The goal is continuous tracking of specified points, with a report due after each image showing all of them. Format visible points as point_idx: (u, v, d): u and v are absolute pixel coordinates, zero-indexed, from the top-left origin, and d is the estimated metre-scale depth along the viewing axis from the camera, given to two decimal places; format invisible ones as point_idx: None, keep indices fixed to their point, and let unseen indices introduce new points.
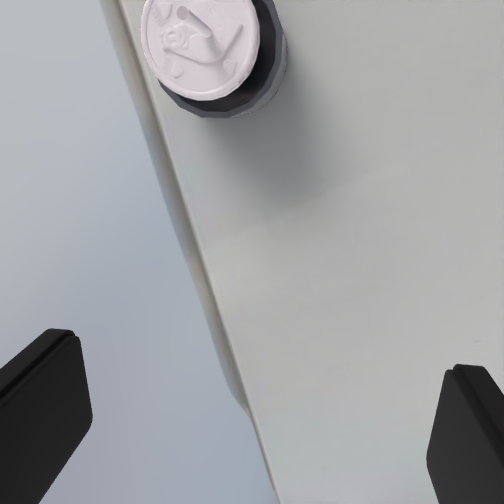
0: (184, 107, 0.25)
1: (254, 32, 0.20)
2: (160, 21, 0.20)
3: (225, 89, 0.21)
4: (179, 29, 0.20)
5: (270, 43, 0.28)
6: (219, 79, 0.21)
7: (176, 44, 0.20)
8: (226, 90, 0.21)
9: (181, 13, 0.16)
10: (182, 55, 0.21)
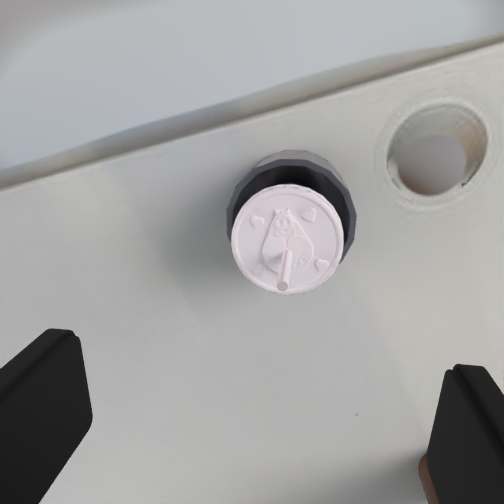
0: (235, 191, 0.25)
1: (286, 292, 0.23)
2: (299, 209, 0.21)
3: (239, 266, 0.22)
4: (290, 229, 0.21)
5: None
6: (248, 260, 0.22)
7: (278, 225, 0.21)
8: (239, 266, 0.22)
9: (282, 283, 0.18)
10: (269, 229, 0.21)
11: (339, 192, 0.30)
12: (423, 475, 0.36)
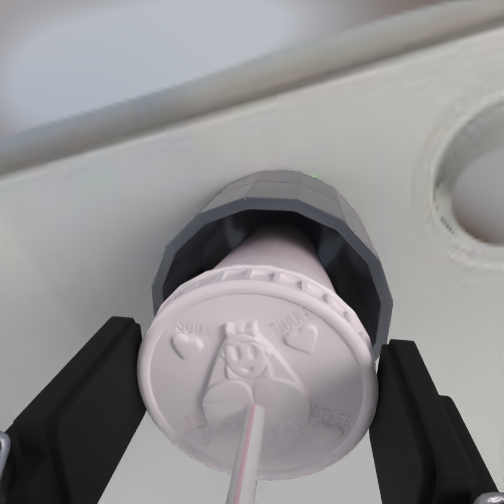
0: (165, 255, 0.13)
1: None
2: (279, 325, 0.09)
3: (158, 426, 0.11)
4: (260, 367, 0.09)
5: None
6: (175, 416, 0.11)
7: (232, 358, 0.09)
8: (157, 425, 0.11)
9: None
10: (214, 362, 0.10)
11: None
12: None
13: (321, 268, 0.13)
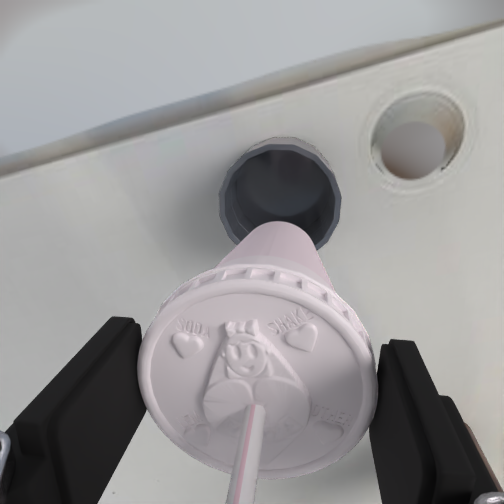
0: (227, 175, 0.26)
1: None
2: (279, 324, 0.09)
3: (158, 425, 0.11)
4: (260, 367, 0.09)
5: None
6: (176, 415, 0.11)
7: (232, 357, 0.09)
8: (158, 424, 0.11)
9: None
10: (214, 361, 0.10)
11: (326, 177, 0.31)
12: None
13: (321, 268, 0.13)
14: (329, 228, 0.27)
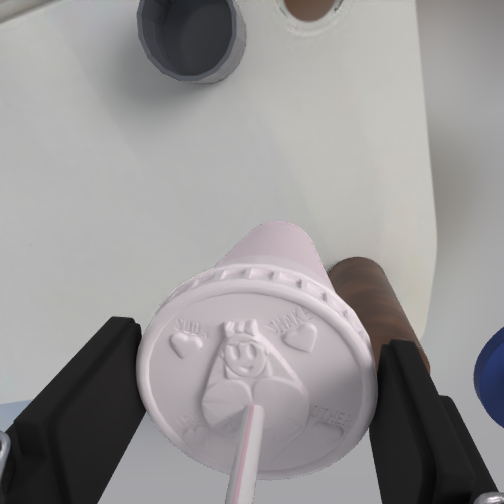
0: None
1: None
2: (279, 324, 0.09)
3: (157, 426, 0.11)
4: (259, 367, 0.09)
5: None
6: (174, 415, 0.11)
7: (231, 357, 0.09)
8: (156, 425, 0.11)
9: None
10: (213, 362, 0.10)
11: None
12: None
13: (321, 267, 0.13)
14: (229, 43, 0.32)
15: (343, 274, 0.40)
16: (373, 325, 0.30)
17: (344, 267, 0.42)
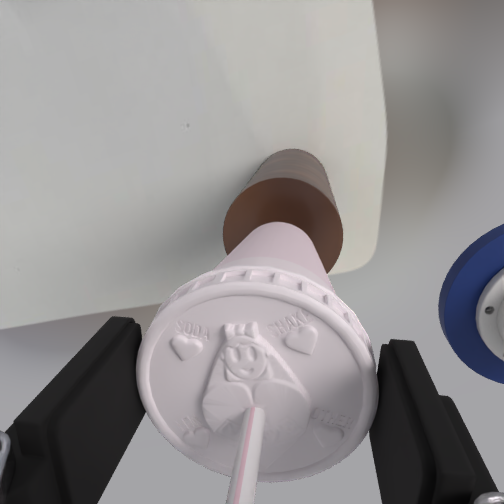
0: None
1: None
2: (279, 327, 0.09)
3: (157, 428, 0.11)
4: (260, 369, 0.09)
5: None
6: (175, 417, 0.11)
7: (232, 360, 0.09)
8: (157, 427, 0.11)
9: None
10: (214, 363, 0.10)
11: None
12: None
13: (321, 269, 0.13)
14: None
15: (267, 160, 0.33)
16: (269, 174, 0.22)
17: (272, 156, 0.34)
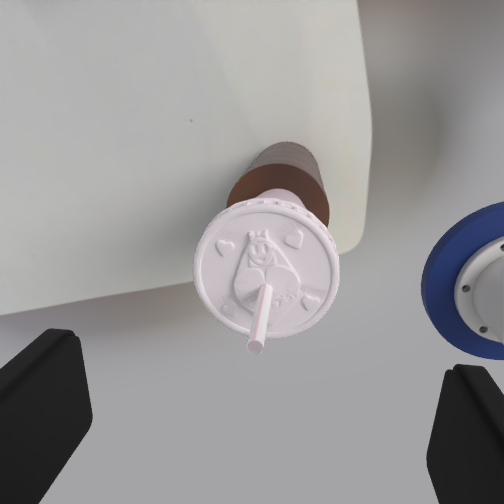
0: None
1: (265, 336, 0.17)
2: (281, 232, 0.16)
3: (204, 303, 0.17)
4: (269, 258, 0.16)
5: None
6: (216, 296, 0.17)
7: (253, 253, 0.16)
8: (204, 303, 0.17)
9: (255, 342, 0.13)
10: (241, 257, 0.16)
11: None
12: None
13: None
14: None
15: (263, 152, 0.36)
16: (266, 161, 0.26)
17: (268, 148, 0.37)
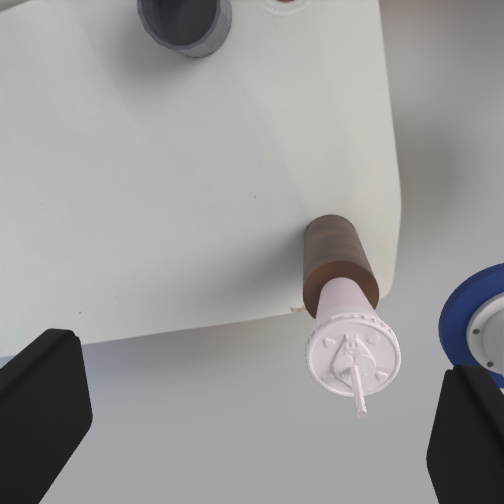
0: None
1: (350, 395, 0.27)
2: (365, 335, 0.25)
3: (312, 375, 0.27)
4: (357, 350, 0.26)
5: None
6: (319, 370, 0.27)
7: (347, 347, 0.26)
8: (311, 374, 0.27)
9: (362, 411, 0.22)
10: (339, 348, 0.26)
11: None
12: (304, 239, 0.49)
13: None
14: (214, 17, 0.38)
15: (316, 227, 0.46)
16: (332, 255, 0.35)
17: (318, 222, 0.47)
